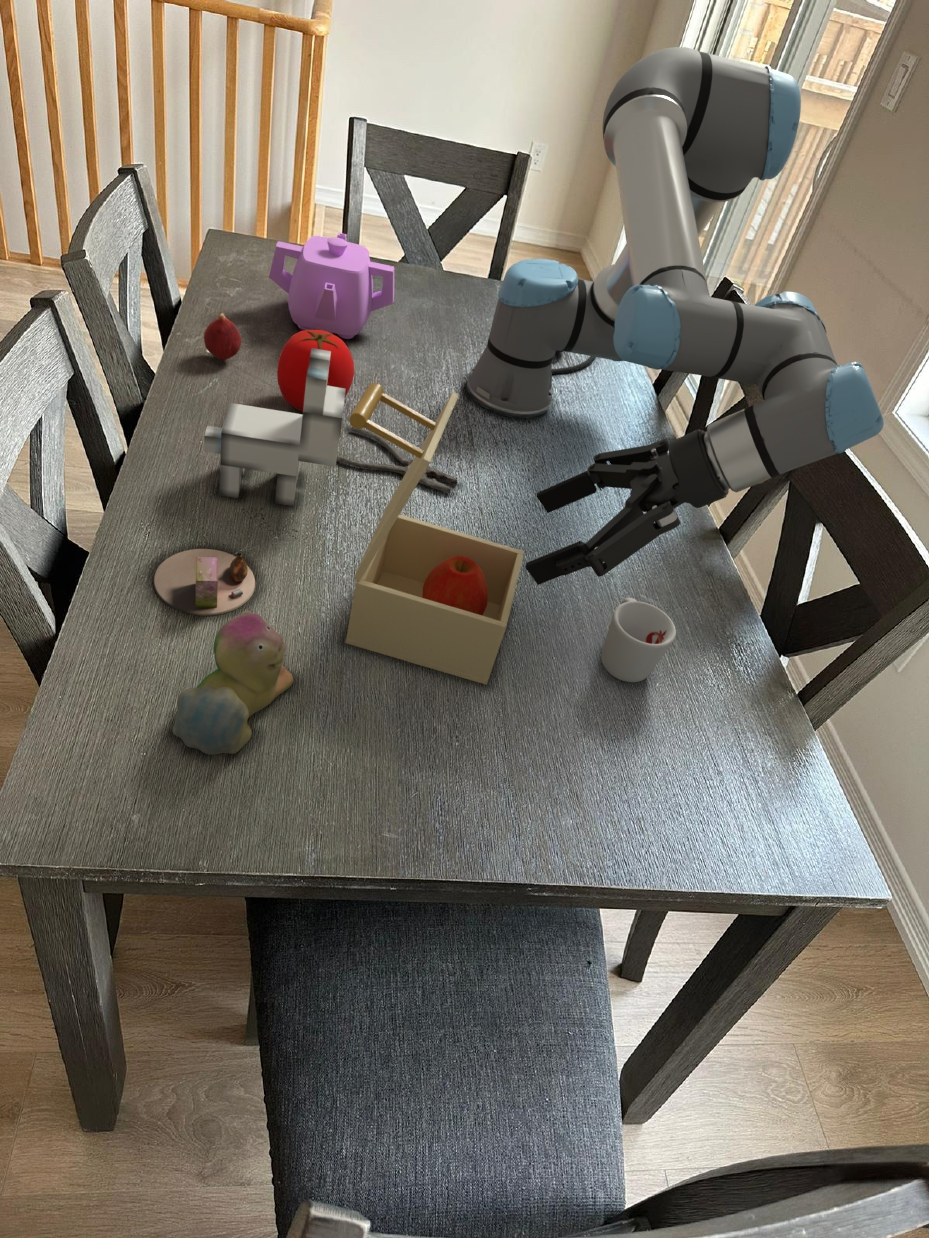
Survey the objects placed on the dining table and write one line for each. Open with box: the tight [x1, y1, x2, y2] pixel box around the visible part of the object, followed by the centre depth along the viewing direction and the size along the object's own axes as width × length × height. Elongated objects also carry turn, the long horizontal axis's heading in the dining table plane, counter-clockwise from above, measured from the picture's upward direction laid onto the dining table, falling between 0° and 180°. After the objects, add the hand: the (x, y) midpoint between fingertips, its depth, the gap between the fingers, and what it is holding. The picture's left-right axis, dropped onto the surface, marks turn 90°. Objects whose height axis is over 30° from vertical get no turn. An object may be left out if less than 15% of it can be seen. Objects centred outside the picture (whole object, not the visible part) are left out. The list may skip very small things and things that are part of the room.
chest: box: [345, 513, 525, 686], centre depth 108 cm, size 18×15×10 cm
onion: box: [203, 312, 242, 362], centre depth 144 cm, size 6×6×8 cm
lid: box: [348, 382, 460, 581], centre depth 98 cm, size 18×15×9 cm
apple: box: [423, 556, 488, 615], centre depth 108 cm, size 8×8×11 cm
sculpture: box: [172, 610, 294, 755], centre depth 92 cm, size 15×8×10 cm, turn 164°
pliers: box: [337, 426, 458, 494], centre depth 136 cm, size 10×1×20 cm
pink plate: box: [152, 548, 256, 617], centre depth 107 cm, size 12×12×4 cm
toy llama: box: [203, 348, 346, 507], centre depth 118 cm, size 8×18×20 cm, turn 93°
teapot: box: [268, 232, 395, 340], centre depth 159 cm, size 19×18×15 cm
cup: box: [601, 597, 677, 683], centre depth 112 cm, size 11×8×8 cm
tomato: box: [276, 329, 355, 413], centre depth 138 cm, size 12×12×13 cm
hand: (536, 537), depth 100 cm, fingers open, 13 cm apart
